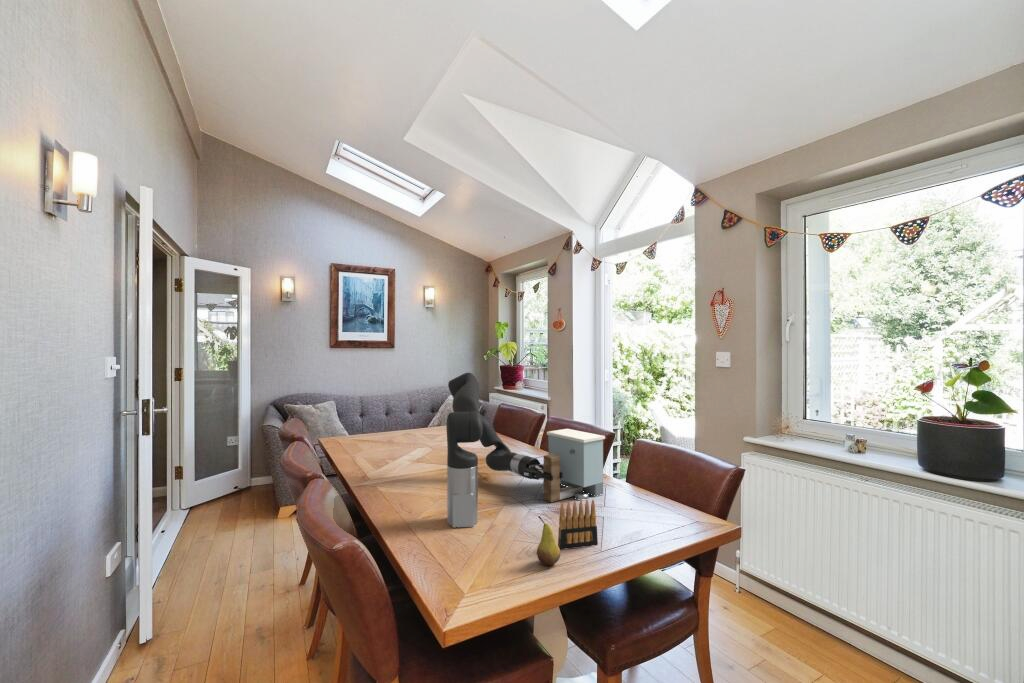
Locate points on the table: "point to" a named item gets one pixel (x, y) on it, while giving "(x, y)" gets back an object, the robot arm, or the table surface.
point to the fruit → (548, 547)
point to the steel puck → (581, 495)
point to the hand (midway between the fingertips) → (557, 476)
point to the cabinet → (579, 458)
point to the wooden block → (556, 481)
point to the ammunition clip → (577, 526)
